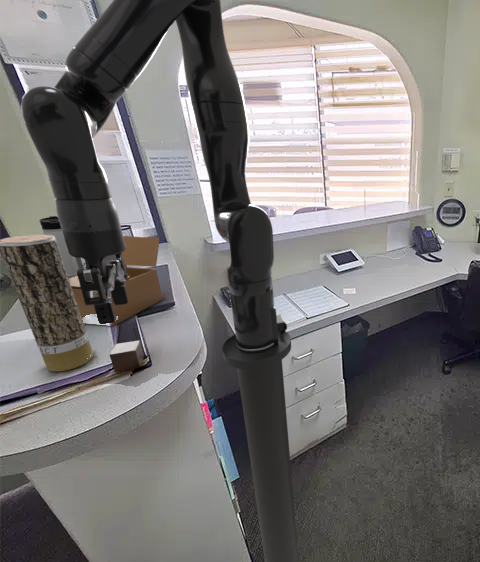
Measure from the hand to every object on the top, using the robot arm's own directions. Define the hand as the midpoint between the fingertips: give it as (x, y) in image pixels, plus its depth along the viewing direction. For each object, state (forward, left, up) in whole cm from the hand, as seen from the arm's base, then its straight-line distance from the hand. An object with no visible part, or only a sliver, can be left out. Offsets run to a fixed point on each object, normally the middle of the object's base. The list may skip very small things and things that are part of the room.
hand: (115, 312), depth 58 cm
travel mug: (+30, -66, -12) cm, 73 cm away
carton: (+9, -30, -11) cm, 33 cm away
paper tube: (+10, -5, -12) cm, 16 cm away
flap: (+4, -38, +3) cm, 39 cm away
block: (0, 0, -11) cm, 11 cm away
